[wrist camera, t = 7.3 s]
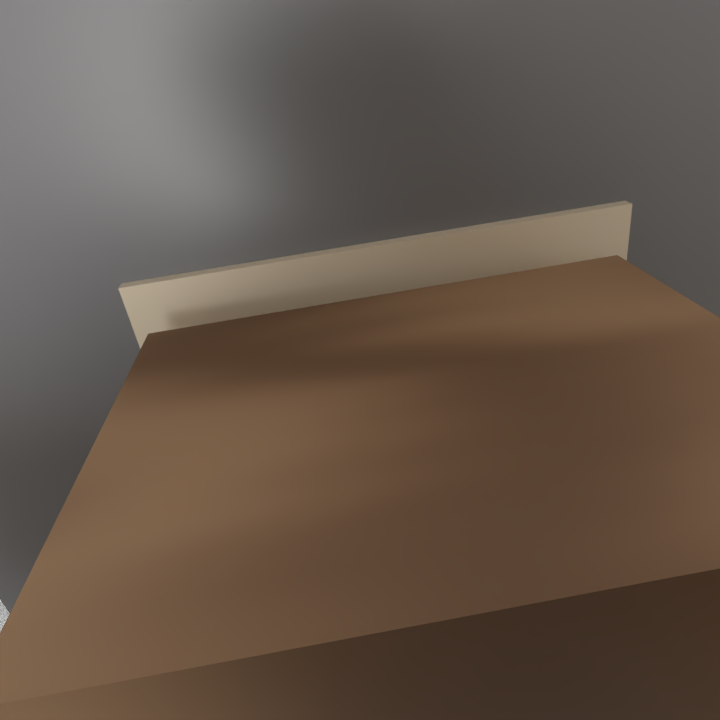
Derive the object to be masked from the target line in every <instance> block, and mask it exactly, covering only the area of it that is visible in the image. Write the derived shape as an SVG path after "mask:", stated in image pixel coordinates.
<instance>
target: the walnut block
mask: <svg viewBox="0 0 720 720" xmlns="http://www.w3.org/2000/svg"><path fill="white" fill-rule="evenodd" d="M0 720H720V318H719V317H718V316H716V315H714V314H713V313H711V312H709V311H708V310H706V309H705V308H703V307H701V306H700V305H698V304H696V303H695V302H693V301H692V300H690V299H688V298H687V297H685V296H683V295H682V294H680V293H678V292H677V291H675V290H674V289H672V288H670V287H669V286H667V285H665V284H664V283H662V282H661V281H659V280H657V279H656V278H654V277H652V276H651V275H649V274H647V273H646V272H644V271H643V270H641V269H639V268H638V267H636V266H634V265H633V264H631V263H630V262H628V261H626V260H625V259H623V258H621V257H620V256H618V255H615V256H609V257H603V258H597V259H591V260H585V261H579V262H573V263H567V264H561V265H555V266H549V267H543V268H537V269H531V270H525V271H519V272H513V273H507V274H501V275H495V276H489V277H483V278H477V279H471V280H465V281H459V282H454V283H448V284H442V285H436V286H430V287H424V288H418V289H412V290H406V291H400V292H394V293H388V294H382V295H376V296H370V297H364V298H358V299H352V300H346V301H340V302H334V303H328V304H322V305H316V306H310V307H304V308H298V309H292V310H286V311H280V312H274V313H268V314H262V315H256V316H250V317H244V318H239V319H233V320H227V321H221V322H215V323H209V324H203V325H197V326H191V327H185V328H179V329H173V330H167V331H161V332H155V333H149V334H148V335H147V337H146V339H145V341H144V343H143V345H142V347H141V349H140V351H139V353H138V355H137V357H136V359H135V361H134V363H133V365H132V367H131V369H130V371H129V373H128V375H127V378H126V380H125V382H124V384H123V386H122V388H121V390H120V392H119V394H118V396H117V398H116V400H115V402H114V404H113V406H112V408H111V410H110V412H109V414H108V416H107V418H106V420H105V422H104V424H103V426H102V428H101V430H100V432H99V434H98V436H97V438H96V440H95V442H94V444H93V446H92V448H91V450H90V453H89V455H88V457H87V459H86V461H85V463H84V465H83V467H82V469H81V471H80V473H79V475H78V477H77V479H76V481H75V483H74V485H73V487H72V489H71V491H70V493H69V495H68V497H67V499H66V501H65V503H64V505H63V507H62V509H61V511H60V513H59V515H58V517H57V519H56V521H55V523H54V525H53V528H52V530H51V532H50V534H49V536H48V538H47V540H46V542H45V544H44V546H43V548H42V550H41V552H40V554H39V556H38V558H37V560H36V562H35V564H34V566H33V568H32V570H31V572H30V574H29V576H28V578H27V580H26V582H25V584H24V586H23V588H22V590H21V592H20V594H19V596H18V598H17V600H16V603H15V605H14V607H13V609H12V611H11V613H10V615H9V617H8V619H7V621H6V623H5V625H4V627H3V629H2V631H1V633H0Z"/></svg>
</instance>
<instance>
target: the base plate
mask: <svg viewBox="0 0 720 720" xmlns="http://www.w3.org/2000/svg"><path fill="white" fill-rule="evenodd" d="M615 255H618V256H620V257H621V258H623V259H625V260H626V261H628V262H630V263H631V264H633V265H634V266H636V267H638V268H639V269H641V270H643V271H644V272H646V273H647V274H649V275H651V276H652V277H654V278H656V279H657V280H659V281H661V282H662V283H664V284H665V285H667V286H669V287H670V288H672V289H674V290H675V291H677V292H678V293H680V294H682V295H683V296H685V297H687V298H688V299H690V300H692V301H693V302H695V303H696V304H698V305H700V306H701V307H703V308H705V309H706V310H708V311H709V312H711V313H713V314H714V315H716V316H718V317H719V318H720V0H0V599H1V601H2V602H3V604H4V605H5V607H6V608H7V610H8V611H9V613H11V611H12V609H13V607H14V605H15V603H16V600H17V598H18V596H19V594H20V592H21V590H22V588H23V586H24V584H25V582H26V580H27V578H28V576H29V574H30V572H31V570H32V568H33V566H34V564H35V562H36V560H37V558H38V556H39V554H40V552H41V550H42V548H43V546H44V544H45V542H46V540H47V538H48V536H49V534H50V532H51V530H52V528H53V525H54V523H55V521H56V519H57V517H58V515H59V513H60V511H61V509H62V507H63V505H64V503H65V501H66V499H67V497H68V495H69V493H70V491H71V489H72V487H73V485H74V483H75V481H76V479H77V477H78V475H79V473H80V471H81V469H82V467H83V465H84V463H85V461H86V459H87V457H88V455H89V453H90V450H91V448H92V446H93V444H94V442H95V440H96V438H97V436H98V434H99V432H100V430H101V428H102V426H103V424H104V422H105V420H106V418H107V416H108V414H109V412H110V410H111V408H112V406H113V404H114V402H115V400H116V398H117V396H118V394H119V392H120V390H121V388H122V386H123V384H124V382H125V380H126V378H127V375H128V373H129V371H130V369H131V367H132V365H133V363H134V361H135V359H136V357H137V355H138V353H139V351H140V349H141V347H142V345H143V343H144V341H145V339H146V337H147V335H148V334H149V333H155V332H161V331H167V330H173V329H179V328H185V327H191V326H197V325H203V324H209V323H215V322H221V321H227V320H233V319H239V318H244V317H250V316H256V315H262V314H268V313H274V312H280V311H286V310H292V309H298V308H304V307H310V306H316V305H322V304H328V303H334V302H340V301H346V300H352V299H358V298H364V297H370V296H376V295H382V294H388V293H394V292H400V291H406V290H412V289H418V288H424V287H430V286H436V285H442V284H448V283H454V282H459V281H465V280H471V279H477V278H483V277H489V276H495V275H501V274H507V273H513V272H519V271H525V270H531V269H537V268H543V267H549V266H555V265H561V264H567V263H573V262H579V261H585V260H591V259H597V258H603V257H609V256H615Z"/></svg>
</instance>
